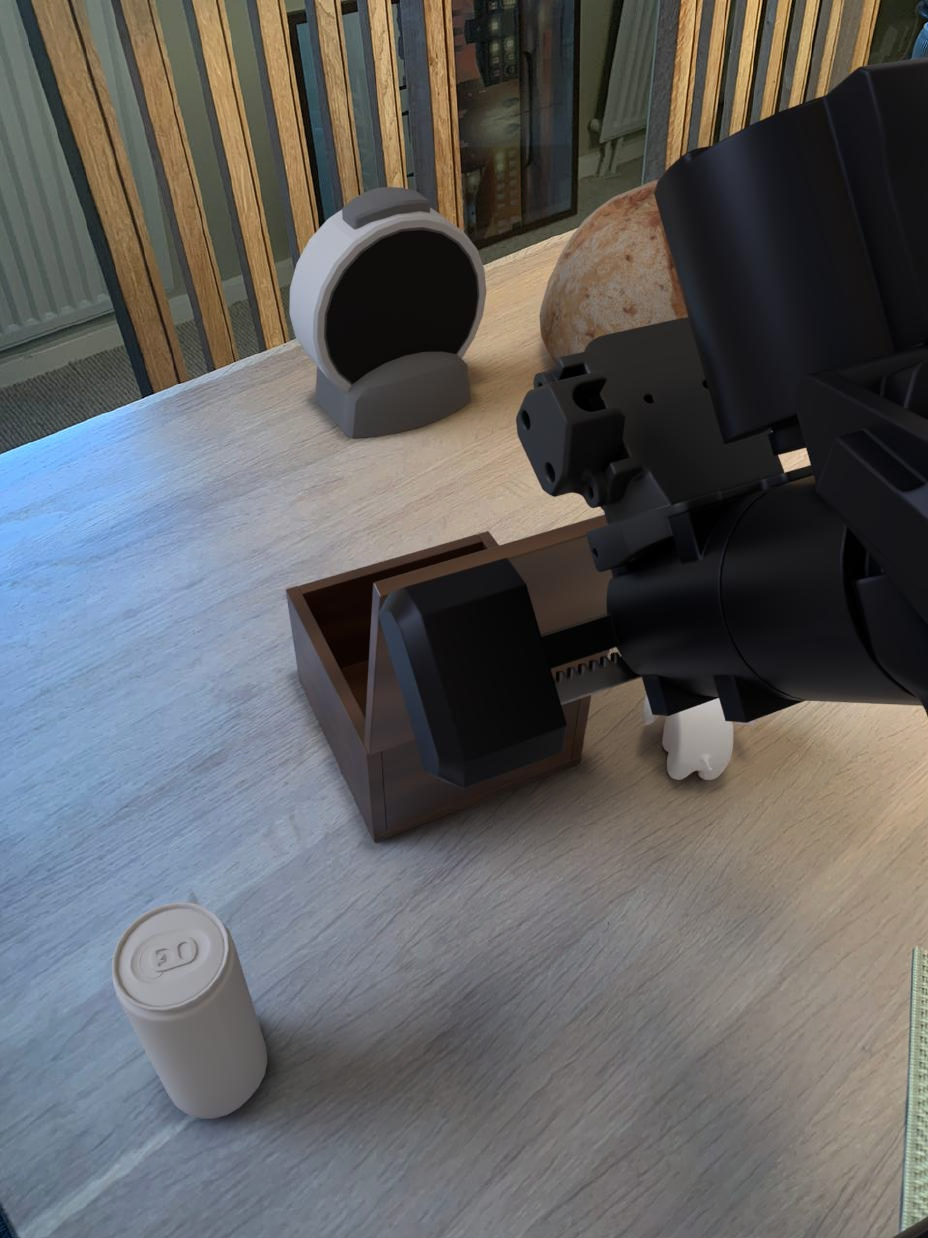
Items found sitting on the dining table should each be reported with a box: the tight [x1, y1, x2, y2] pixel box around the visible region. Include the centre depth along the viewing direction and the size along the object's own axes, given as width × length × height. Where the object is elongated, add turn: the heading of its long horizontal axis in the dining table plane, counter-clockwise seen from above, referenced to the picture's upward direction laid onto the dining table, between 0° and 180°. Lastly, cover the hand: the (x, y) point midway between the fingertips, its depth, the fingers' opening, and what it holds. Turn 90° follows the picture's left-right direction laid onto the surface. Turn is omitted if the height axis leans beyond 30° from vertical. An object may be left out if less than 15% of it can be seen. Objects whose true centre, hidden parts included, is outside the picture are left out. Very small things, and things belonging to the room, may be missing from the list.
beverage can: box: [111, 901, 268, 1120], centre depth 44 cm, size 5×5×12 cm
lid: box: [364, 513, 613, 755], centre depth 47 cm, size 14×14×1 cm
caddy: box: [285, 530, 592, 844], centre depth 60 cm, size 14×14×8 cm
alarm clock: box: [289, 186, 487, 439], centre depth 83 cm, size 16×10×18 cm, turn 121°
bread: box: [538, 179, 688, 363], centre depth 91 cm, size 26×23×15 cm
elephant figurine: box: [641, 693, 758, 781], centre depth 60 cm, size 7×8×6 cm
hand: (571, 620), depth 40 cm, fingers open, 9 cm apart
